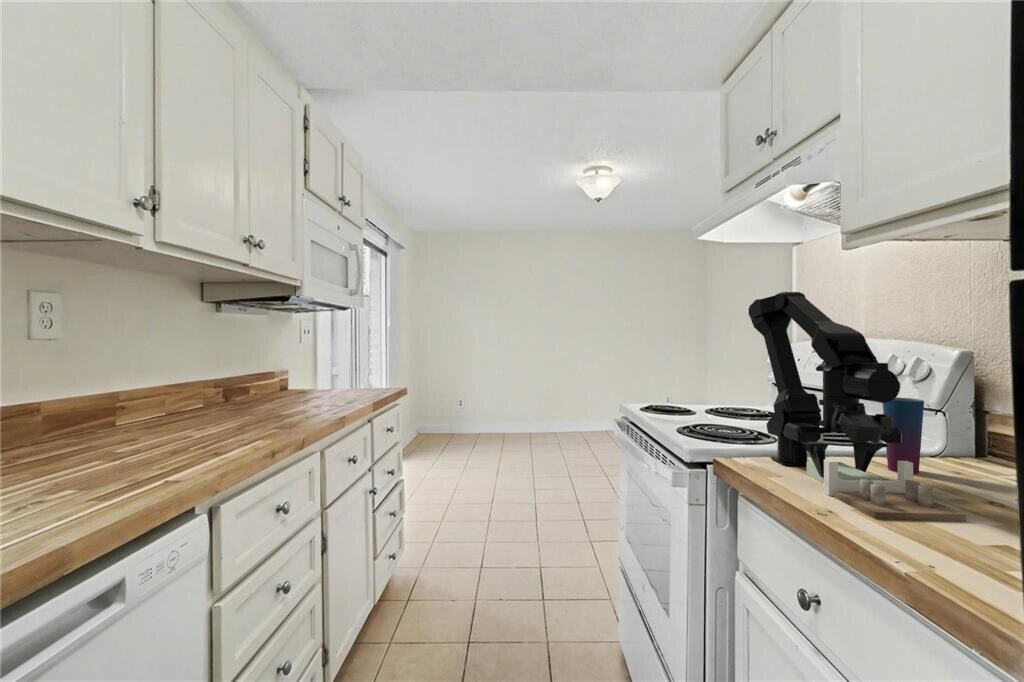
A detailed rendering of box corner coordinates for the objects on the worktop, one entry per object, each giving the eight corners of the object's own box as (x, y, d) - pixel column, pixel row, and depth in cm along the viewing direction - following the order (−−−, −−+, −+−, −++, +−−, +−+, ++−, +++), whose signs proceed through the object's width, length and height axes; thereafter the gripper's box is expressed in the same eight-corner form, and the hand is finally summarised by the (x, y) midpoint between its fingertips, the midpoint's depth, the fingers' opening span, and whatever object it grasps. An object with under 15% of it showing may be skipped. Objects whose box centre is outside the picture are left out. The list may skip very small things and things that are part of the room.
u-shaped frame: (824, 493, 84) (823, 459, 84) (906, 494, 83) (906, 460, 83) (829, 495, 83) (828, 461, 83) (913, 497, 82) (913, 462, 82)
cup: (932, 475, 95) (932, 401, 95) (894, 473, 96) (893, 400, 96) (911, 467, 102) (911, 397, 102) (875, 465, 103) (875, 397, 103)
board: (806, 475, 97) (806, 461, 97) (840, 476, 96) (840, 462, 96) (842, 494, 85) (842, 477, 85) (880, 495, 84) (880, 478, 84)
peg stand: (834, 497, 82) (834, 474, 82) (913, 498, 81) (913, 475, 81) (875, 518, 72) (874, 492, 72) (965, 520, 71) (965, 494, 71)
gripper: (814, 401, 83) (814, 489, 83) (926, 401, 82) (926, 491, 82) (782, 394, 94) (782, 472, 94) (880, 394, 93) (880, 473, 93)
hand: (841, 477), depth 90 cm, fingers open, 7 cm apart
